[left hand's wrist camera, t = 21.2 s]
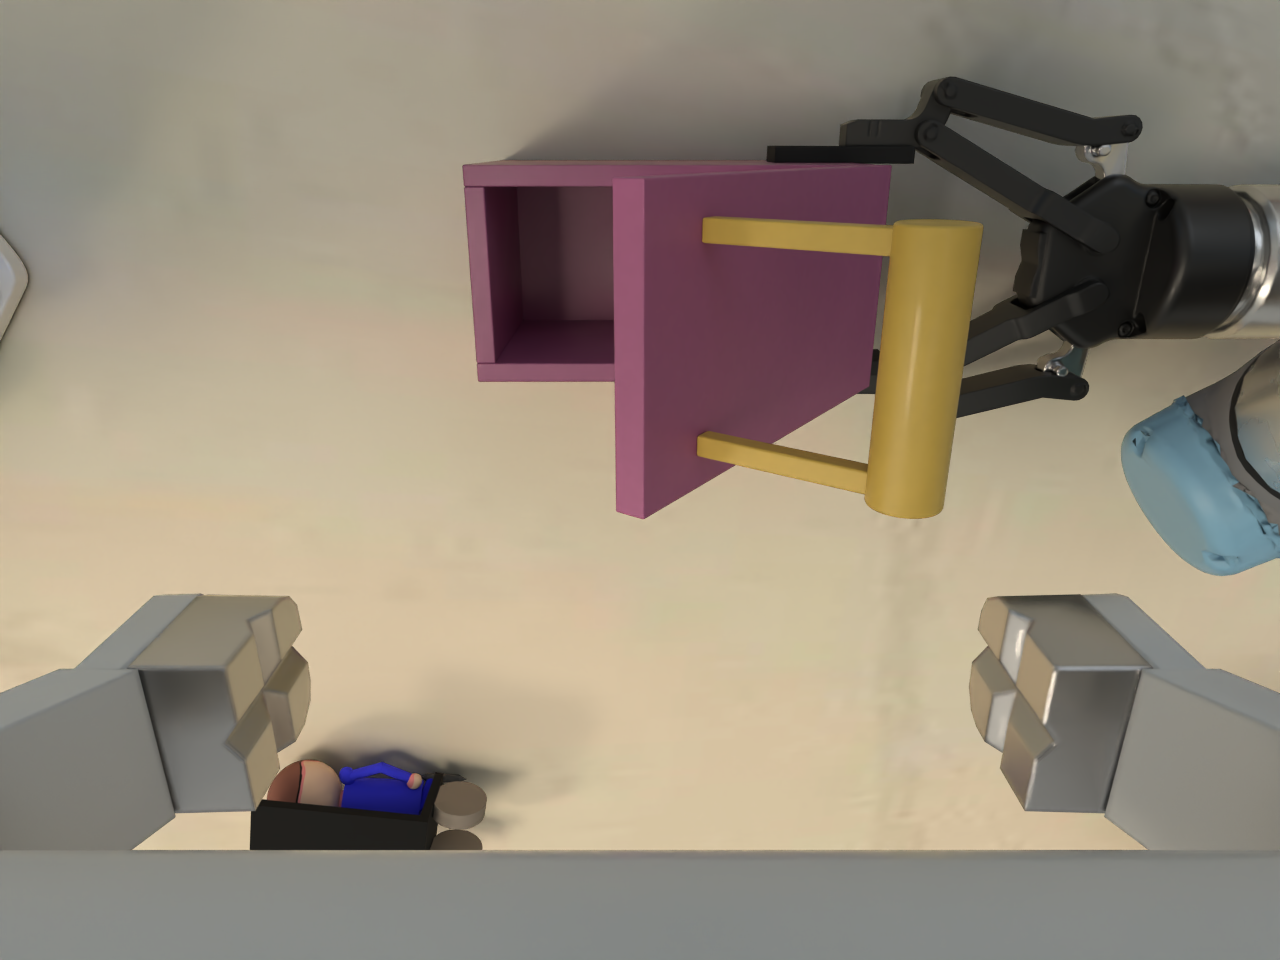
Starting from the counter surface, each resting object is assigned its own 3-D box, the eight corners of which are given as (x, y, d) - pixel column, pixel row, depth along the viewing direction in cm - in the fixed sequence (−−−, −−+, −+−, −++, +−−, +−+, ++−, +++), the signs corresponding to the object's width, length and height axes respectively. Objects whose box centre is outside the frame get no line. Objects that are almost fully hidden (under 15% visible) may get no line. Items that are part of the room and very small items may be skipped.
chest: (511, 332, 50) (477, 382, 39) (501, 160, 46) (461, 164, 36) (809, 332, 50) (855, 381, 39) (822, 160, 46) (876, 164, 36)
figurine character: (492, 744, 62) (277, 733, 60) (486, 821, 55) (244, 812, 53) (484, 814, 65) (277, 807, 62) (477, 897, 58) (245, 892, 55)
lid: (615, 512, 25) (896, 592, 21) (611, 177, 22) (947, 186, 17) (847, 383, 39) (1048, 414, 35) (868, 165, 36) (1093, 167, 31)
